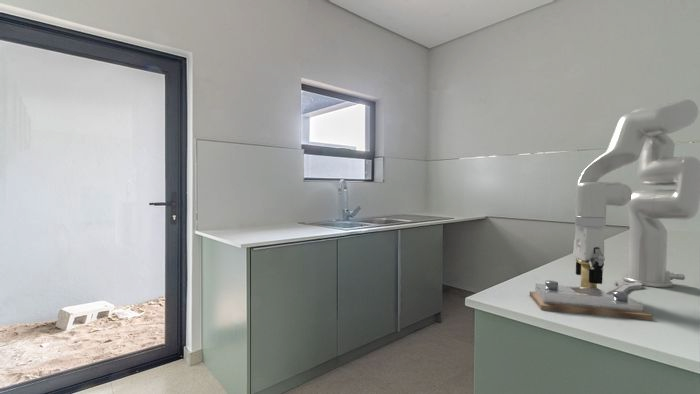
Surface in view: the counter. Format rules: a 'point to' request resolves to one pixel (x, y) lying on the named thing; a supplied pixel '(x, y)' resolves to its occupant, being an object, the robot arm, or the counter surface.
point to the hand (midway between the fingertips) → (588, 278)
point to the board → (591, 310)
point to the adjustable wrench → (625, 286)
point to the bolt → (586, 274)
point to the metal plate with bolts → (585, 297)
